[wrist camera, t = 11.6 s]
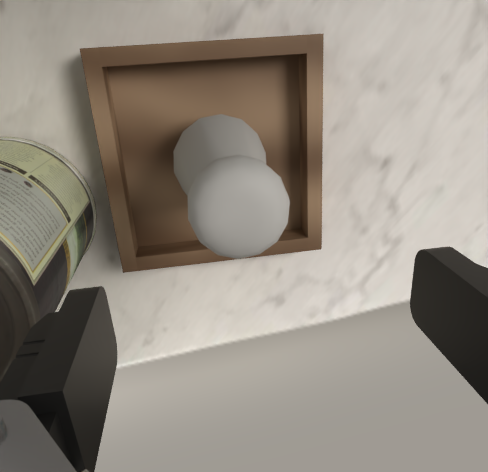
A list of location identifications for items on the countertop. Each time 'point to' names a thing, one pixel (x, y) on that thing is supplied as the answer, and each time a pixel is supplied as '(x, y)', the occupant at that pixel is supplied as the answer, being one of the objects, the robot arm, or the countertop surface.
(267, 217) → the salt shaker
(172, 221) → the walnut tray
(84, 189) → the coffee can
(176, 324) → the countertop surface
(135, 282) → the countertop surface
